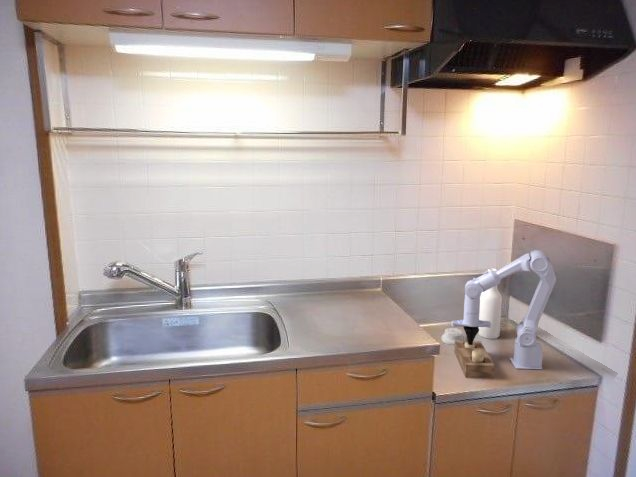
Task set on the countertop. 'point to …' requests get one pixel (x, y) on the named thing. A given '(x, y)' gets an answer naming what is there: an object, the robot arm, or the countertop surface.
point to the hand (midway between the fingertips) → (469, 343)
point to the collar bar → (468, 366)
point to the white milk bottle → (490, 311)
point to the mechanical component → (453, 336)
